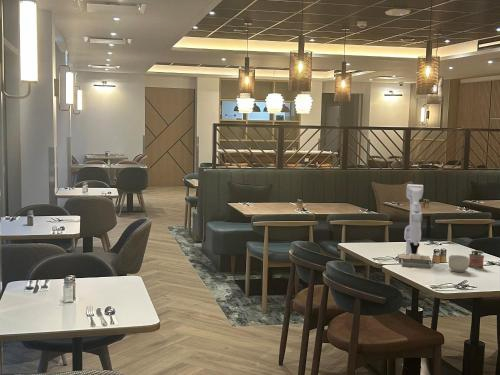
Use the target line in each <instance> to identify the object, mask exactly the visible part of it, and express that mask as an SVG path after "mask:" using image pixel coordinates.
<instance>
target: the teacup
mask: <svg viewBox="0 0 500 375" xmlns="http://www.w3.org/2000/svg"><path fill="white" fill-rule="evenodd" d="M468 266H469V256H467V255H460V254H451V255H449V256H448V267H449V269H450V270H451V271H453V272H454V273H455V272H456V273H465V272H466V271H467V270H468V268H469V267H468Z"/></svg>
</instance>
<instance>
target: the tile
mask: <svg viewBox="0 0 500 375" xmlns="http://www.w3.org/2000/svg"><path fill="white" fill-rule="evenodd" d="M421 256H422V255H421V254H420V253H418V254H409V258H410V259H420V257H421Z"/></svg>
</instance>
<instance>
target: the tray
mask: <svg viewBox="0 0 500 375" xmlns="http://www.w3.org/2000/svg"><path fill="white" fill-rule="evenodd" d="M400 265H401V267H408V268H419V269H420V268H421V269H432V262H431V263H430V261H419V260H405V259H401V262H400Z"/></svg>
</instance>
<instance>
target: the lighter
mask: <svg viewBox="0 0 500 375" xmlns="http://www.w3.org/2000/svg"><path fill="white" fill-rule="evenodd" d="M483 254H484V251H482V250H473V249H472V250H471V253H469V254H468V257H469V266H468V268H470V269H471V268H472V269H479V270H483V269H484V259H485V255H483Z"/></svg>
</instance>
